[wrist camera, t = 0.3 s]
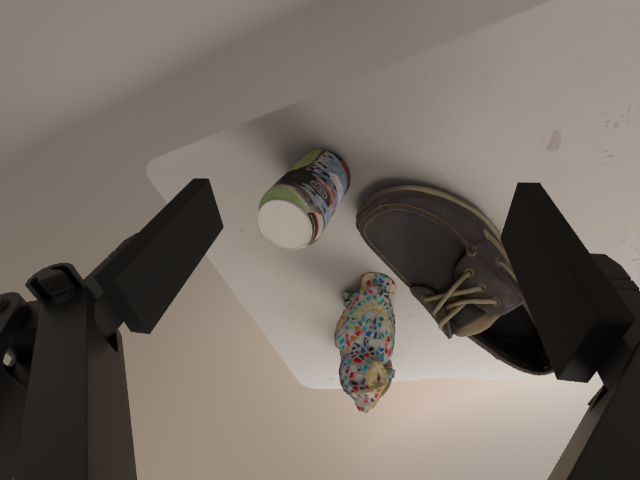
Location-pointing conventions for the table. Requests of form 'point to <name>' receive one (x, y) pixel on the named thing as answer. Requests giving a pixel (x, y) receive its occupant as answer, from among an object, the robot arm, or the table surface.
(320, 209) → the beverage can
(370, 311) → the figurine
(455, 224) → the boat shoe
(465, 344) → the table surface
